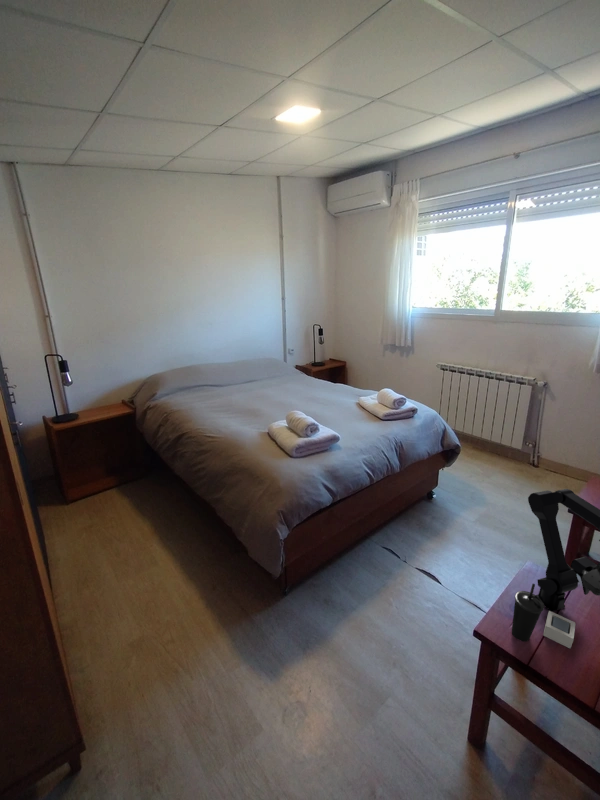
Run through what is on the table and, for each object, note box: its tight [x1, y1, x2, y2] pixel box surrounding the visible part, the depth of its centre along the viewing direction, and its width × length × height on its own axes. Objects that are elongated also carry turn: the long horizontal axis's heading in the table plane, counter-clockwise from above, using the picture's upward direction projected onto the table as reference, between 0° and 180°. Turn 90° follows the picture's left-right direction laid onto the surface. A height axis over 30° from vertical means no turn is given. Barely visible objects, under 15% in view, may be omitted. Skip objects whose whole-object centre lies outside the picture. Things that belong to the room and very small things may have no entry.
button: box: [551, 617, 569, 633], centre depth 116 cm, size 4×4×3 cm
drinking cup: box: [511, 583, 545, 643], centre depth 113 cm, size 8×8×20 cm
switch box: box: [542, 610, 576, 649], centre depth 116 cm, size 7×7×4 cm
